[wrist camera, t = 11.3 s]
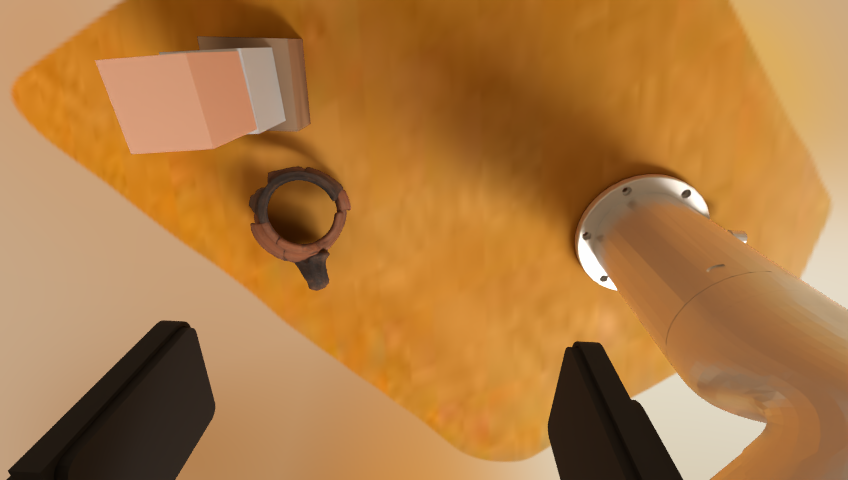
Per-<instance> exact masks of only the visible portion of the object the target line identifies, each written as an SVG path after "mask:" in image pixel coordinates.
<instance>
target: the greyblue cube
mask: <svg viewBox="0 0 848 480" xmlns="http://www.w3.org/2000/svg"><path fill="white" fill-rule="evenodd" d="M228 51H238V52H239V56H240V60H241V64H242V69H243V73H244V77H245V81H246V85H247V89H248V93H249V97H250V101H251V105H252V110H253V114H254V118H255V122H256V126H257V130H254V131H252V132H250V133H248V134H260V133H262V132H264V131H266V130H268V129H270V128H272V127H274V126H276V125H278V124H280V123H282V122H284V121H286V119H285V114H284V109H283V104H282V98H281V93H280V88H279V82H278V77H277V72H276V67H275V61H274V56H273V51H272V47H270V48H234V49H215V50H196V51H177V52H159V54H160V55H167V54H179V53H199V52H228Z"/></svg>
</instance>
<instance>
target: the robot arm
mask: <svg viewBox="0 0 848 480" xmlns="http://www.w3.org/2000/svg"><path fill="white" fill-rule="evenodd" d="M625 187H626V188H625ZM624 188H625V190H623V189H624ZM622 190H623V191H622ZM585 232H586V233H585ZM584 233H585V234H584ZM746 242H747V234H746V233H745V232H744V231H730V230H728V231H726V230H725V229H723V228H722V227H720V226H719V225H717V224H716V223H714V222H712V221H711V220H710V214H709V210H708V206H707V204H706V202H705V201H704V199H703V197H702V196H701V195H700V194H699V193H698V191H697V190H696V189H695V188H693V187H692V186H690V185H688V184H687V183H685V182H683V181H681V180H679V179H677V178H675V177H671V176H667V175H663V174H646V175H639V176H634V177H631V178H628V179H625V180H622V181H620V182H618V183H616V184H614V185H612V186H611V187H609V188H608V189H606V190H605V191H603V192H602V193H601V194H600V195H599V196H598V197H596V198H595V199H594V200H593V201H592V202H591V204H590V205H589V206H588V208H587V209H586V210H585V212H584V213H583V215H582V217H581V219H580V221H579V223H578V227H577V230H576V234H575V250H576V255H577V258H578V260H579V262H580V264H581V266H582V267H583V269H584V271H585V272H586V273H587V274H588V275H589V276H590V278H591V279H592V280H594V281H595V282H597V283H598V284H600V285H602V286H604V287H607V288H609V289H612V290H617V291H619V293H620V294H621V295H622V297H623V298H624V299H625V301H626V302H627V304H628V305H629V306H630V308H631V309H632V311H633V312H634V313H635V315H636V316H637V318H638V319H639V320H640V322H641V323H642V325H643V326H644V327H645V329H646V330H647V331H648V333H649V334H650V336H651V337H652V338H653V340H654V341H655V343H656V344H657V345H658V347H659V348H660V350H661V351H662V352H663V354H664V355H665V357H666V358H667V359H668V361H669V362H670V363H671V365H672V366H673V367H674V369H675V370H676V371H677V373H678V374H679V376H680V377H681V378H682V379H683V381H684V382H685V383H686V384H687V385H688V387H690V388H691V389H692V390H693V391H694V392H695V393H696V394H697V395H698V396H700V397H701V398H703V399H704V400H706V401H707V402H709V403H710V404H712V405H714V406H716V407H718V408H720V409H722V410H725V411H727V412H730V413H732V414H735V415H738V416H741V417H744V418H748V419H751V420H755V421H760V422H764V423H767V424H766V427H765V429H764V430H763V432H762V433H761V434H760V435H759V436H758V437H757V438H756V439H755V440H754V441H753V442H752V443H751V444H750V445H748V446H747V447H746V448H745V449H744V450H743V452H742V453H741V454H740V455H739V456H738V457H737V458H735V459H734V460H733V461H732V462H731V463H729V464H728V465H727V466H726V467H724V468H723V469H722V470H721V471H719V472H718V473H717V474H716V475H715V476H713V477H712V478H711V479H710V480H848V310H847V309H846V308H844V307H842V306H841V305H839V304H838V303H836V302H834V301H833V300H831V299H830V298H828V297H827V296H825V295H823V294H822V293H821V292H819V291H817V290H816V289H814V288H812V287H811V286H810V285H808V284H807V283H805V282H804V281H802V280H800V279H799V278H797V277H796V276H794V275H793V274H791V273H790V272H788V271H787V270H785V269H784V268H782V267H781V266H779V265H778V264H776V263H774V262H773V261H771V260H770V259H768V258H767V257H765V256H764V255H762V254H761V253H759V252H758V251H756V250H755V249H753V248H752V247H750V246H749V245H747V244H746ZM214 412H215V402H214V398H213V394H212V390H211V386H210V382H209V379H208V375H207V371H206V367H205V363H204V360H203V356H202V352H201V348H200V344H199V341H198V337H197V333H196V331H195V329H194V328H191V327H190V325H189V324H188V323H187V322H182V321H160V322H159V323H157V324H156V325H155V326H154V327H153V328H152V329H151V330H150V331H149V332H148V333H147V334H146V335H145V336H144V337H143V338H142V339H141V340H140V341H139V342H138V343H137V344H136V345H135V346H134V347H133V348H132V349H131V350H130V351H129V352H128V353H127V354H126V355H125V356H124V357H122V359H120V361H119V362H117V363H116V364H115V365H114V367H112V369H110V370H109V371H108V372H107V373H106V374H105V375H104V376H103V378H101V379H100V380H99V381H98V382H97V383H96V384H95V385H94V386H93V387H92V388H91V389H90V390H89V391H88V392H87V393H86V394H85V395H84V396H83V397H82V398H81V399H80V400H79V401H78V402H77V403H76V404H75V405H74V406H73V407H72V408H71V409H70V410H69V411H68V412H67V413H66V414H65V415H64V416H63V417H62V418H61V419H60V420H59V421H58V422H57V423H56V424H55V425H54V426H53V427H52V428H51V429H50V430H49V431H48V432H47V433H46V434H45V435H44V436H43V437H42V438H41V439H40V440H39V441H38V442H37V443H36V444H35V445H34V446H33V447H32V448H31V449H30V450H28V451H27V453H25V455H23V457H21V458H20V459H19V461H17V462H16V464H14V465H13V466H12V467H11V468H10V469H9V470H8V472H9V474H10V475H11V476H10V477H9V478H8V479H7V480H175V479H176V477H177V476H178V474H179V473H180V471H181V469H182V468H183V466H184V464H185V463H186V461H187V459H188V458H189V456H190V454H191V453H192V451H193V449H194V448H195V446H196V445H197V443H198V441H199V440H200V438H201V436H202V435H203V433H204V431H205V430H206V428H207V426H208V425H209V423H210V421H211V420H212V418H213V415H214ZM548 435H549V439H550V443H551V447H552V450H553V454H554V457H555V461H556V465H557V468H558V472H559V476H560V479H561V480H683V479H682V477H681V475H680V473H679V471H678V470H677V468H676V466H675V464H674V462H673V461H672V459H671V457H670V455H669V454H668V452H667V450H666V448H665V446H664V445H663V443H662V441H661V439H660V437H659V435H658V434H657V432H656V430H655V428H654V426H653V425H652V423H651V421H650V419H649V417H648V415H647V414H646V412H645V410H644V409H643V407H642V406H641V404H640V403H639V402H637V401H636V400H631V399H630V397H629V395H628V393H627V391H626V389H625V388H624V386H623V384H622V382H621V380H620V378H619V376H618V374H617V373H616V371H615V369H614V367H613V365H612V363H611V361H610V359H609V358H608V356H607V354H606V352H605V350H604V348H603V346H602V345H601V344H600V343H596V342H575V343H574V344H573V347H567V348H566V350H565V354H564V358H563V362H562V366H561V371H560V375H559V379H558V383H557V387H556V392H555V396H554V400H553V404H552V408H551V413H550V417H549V421H548Z"/></svg>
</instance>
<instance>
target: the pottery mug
mask: <svg viewBox="0 0 848 480" xmlns="http://www.w3.org/2000/svg"><path fill="white" fill-rule="evenodd" d="M295 180H303V181H309V182H312V183H314V184H316V185H318V186H320V187H321V188H322V189H324V190H325V191H326V192H327V194H328V195H329V196H330V198H331V199H332V201H335V203H336V207H337V213H335V216H334V221H333V224H332V227H331V228H330V230H329V231H328V233H327V234H326V235H325V236H324V237H322V238H321V239H319V240H317V241H316V242H313V243H308V244H297V243H293V242H290V241H287V240H285V239H284V238H282V237H281V236H280V235H279V234H277V233H276V231H275V230H274V229H273V227H272V225H271V223H270V221H269V219H268V214H267V207H268V203H269V200H270V197H271V195H272V194H273V192H274V191H275V190H276V189H277V188H278V187H279V186H281V185H283V184H284V183H287V182H290V181H295ZM249 206H250V207H251V208H252V210H253V212H254V213H255V214H254V220H255V223H251V231H252V233H253V235H254V237H255V239H256V240H257V242H258V243H259V244H260V245H261V246H262V247H263V248H264V249H265V250H266V251H267V252H269V253H270V254H273V255H274V256H275V257H277V258H279V259H282V260H284V261H290V262H293V263H295V264H296V266H297V267H298V268H299V270H300V271H301V273H302V275H303V277H304V278H305V280H306V281H307V283H308V286H309V288H310V289H312V290H320V289H323V288H325V287H326V285H327V284H328V283H329V278H328V275H327V269H326V259H327V257H328V256H329V253H328V252H327V251H328V249H329V248H330V247H331V246H332V245H333V244H334V242H335V241H336V240H337V238H338V237H339V235H340V233H341V231H342V229H343V227H344V224H345V221H346V214H347V212H346V210H351V206H350V202H349V199H348V196H347V194H346V192H345V190H343V187H342V186H341V184H339V183H338V182H337V181H336V180H334V179H333V178H331V177H330V176H328V175H327V174H325V173H323V172H321V171H319V170H316V169H313V168H310V167H307V168H306V169H303V168H302V167H291V168H286V169H282V170H277V171H272V172H269V173H268V184H267V186H266V187H265V188H260V189H258V190H257V191H256V193H255V194H254V195H252V196H251V197H250V201H249Z"/></svg>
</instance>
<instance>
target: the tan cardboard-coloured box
mask: <svg viewBox="0 0 848 480" xmlns="http://www.w3.org/2000/svg"><path fill="white" fill-rule="evenodd" d="M197 38H198V43H199V48H200V50H215V49H234V48H270V47H272V51H273V56H274V61H275V67H276V72H277V77H278V82H279V88H280V93H281V98H282V104H283V109H284V114H285V119H286V121H284V122H282V123H280V124H278V125H276V126H274V127H272V128H270V129H268V130H266V131H299V130H301V129H303V128H304V127H306V126H307V125H309V124H311V123H310V113H309V102H308V92H307V82H306V72H305V62H304V51H303V41H302V39H284V38H243V37H202V36H197Z"/></svg>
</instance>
